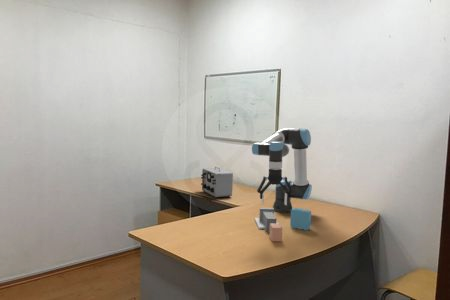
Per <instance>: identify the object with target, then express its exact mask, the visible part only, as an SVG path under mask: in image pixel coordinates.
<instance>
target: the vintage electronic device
mask: <svg viewBox="0 0 450 300" xmlns="http://www.w3.org/2000/svg"><path fill="white" fill-rule="evenodd" d="M233 173H234V172H232V171H228V170H225V169H222V168H220V167H217V166H214V168H202V174H201V178H200V179H201V182H202V183H201V184H200V185H201V190H202V192H204V193H206V194H208V195H210V196H212V197H213V198H215V199H218V198H222V197H227V198H231V197H232V196H233V185H234V184H233V180H234V179H233V177H234V176H233Z"/></svg>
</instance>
